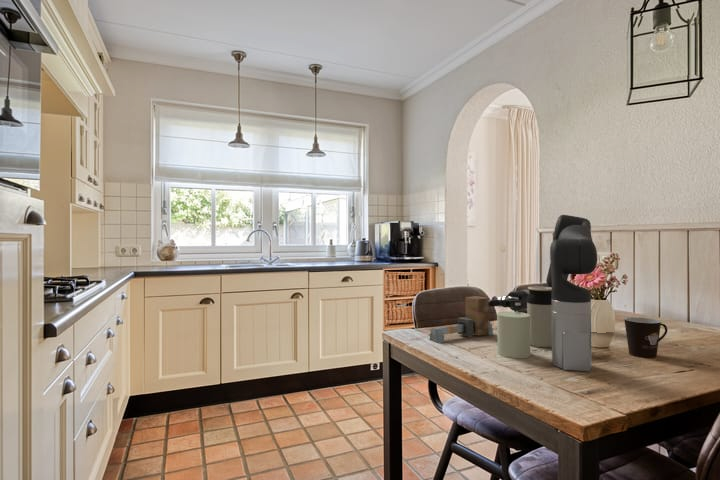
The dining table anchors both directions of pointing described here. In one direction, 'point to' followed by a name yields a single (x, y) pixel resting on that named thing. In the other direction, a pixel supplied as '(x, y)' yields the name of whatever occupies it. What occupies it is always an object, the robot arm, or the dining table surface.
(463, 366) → the dining table surface
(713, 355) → the dining table surface
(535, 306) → the travel mug
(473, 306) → the wooden rectangular block
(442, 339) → the grey angular blocks
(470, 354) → the dining table surface
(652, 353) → the coffee mug
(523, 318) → the can
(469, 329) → the dark grey block
